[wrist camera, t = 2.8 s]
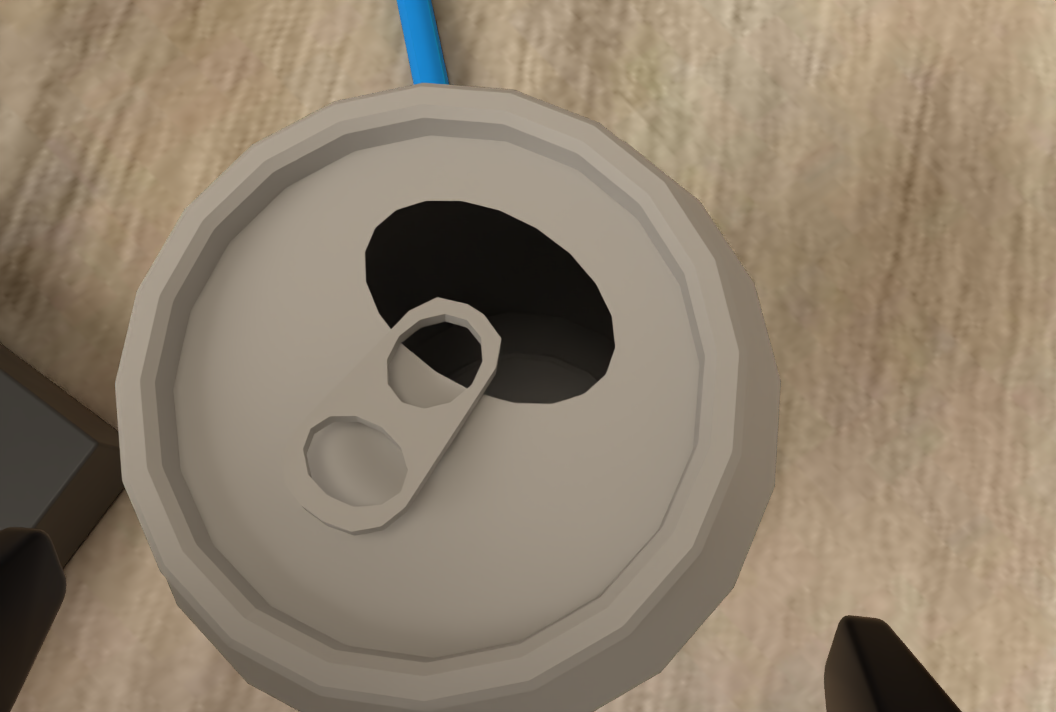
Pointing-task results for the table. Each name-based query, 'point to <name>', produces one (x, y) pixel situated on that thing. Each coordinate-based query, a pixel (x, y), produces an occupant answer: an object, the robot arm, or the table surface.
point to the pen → (422, 42)
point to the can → (447, 409)
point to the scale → (52, 458)
